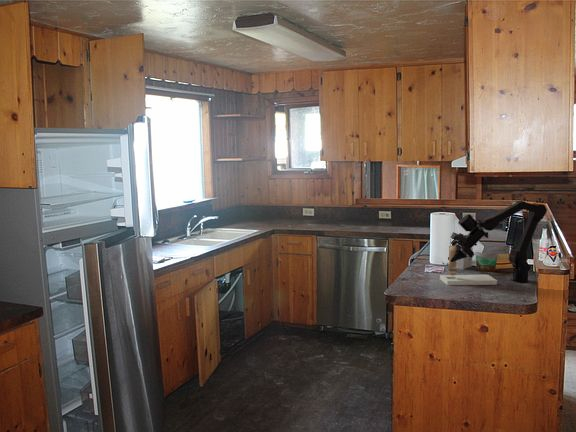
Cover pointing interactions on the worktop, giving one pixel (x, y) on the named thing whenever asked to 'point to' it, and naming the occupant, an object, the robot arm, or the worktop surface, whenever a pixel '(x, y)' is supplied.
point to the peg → (451, 264)
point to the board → (468, 280)
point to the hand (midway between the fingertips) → (449, 260)
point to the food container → (486, 261)
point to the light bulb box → (464, 262)
